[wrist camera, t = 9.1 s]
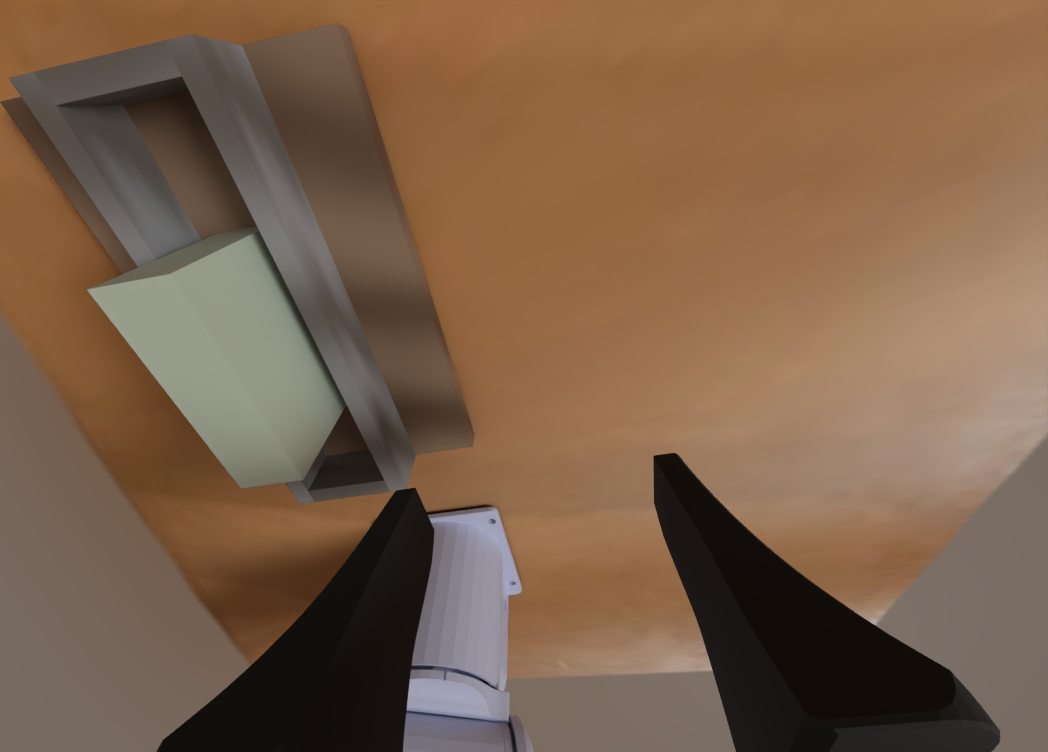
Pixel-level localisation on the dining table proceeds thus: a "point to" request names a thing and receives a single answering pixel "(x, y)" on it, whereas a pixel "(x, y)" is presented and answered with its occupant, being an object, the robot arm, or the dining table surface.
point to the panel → (230, 353)
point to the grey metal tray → (267, 215)
